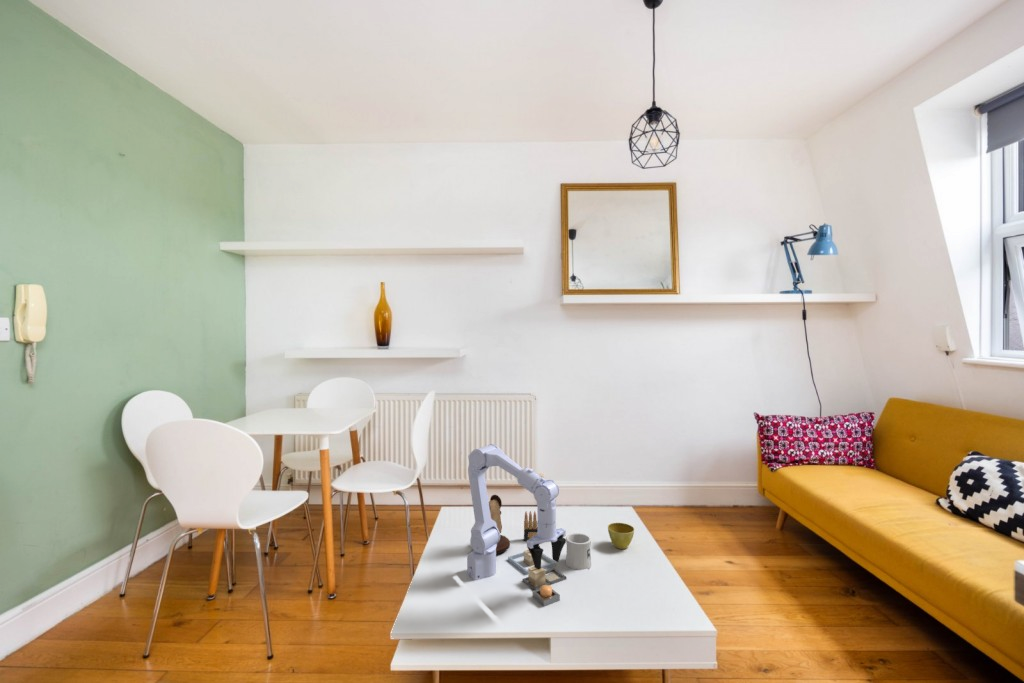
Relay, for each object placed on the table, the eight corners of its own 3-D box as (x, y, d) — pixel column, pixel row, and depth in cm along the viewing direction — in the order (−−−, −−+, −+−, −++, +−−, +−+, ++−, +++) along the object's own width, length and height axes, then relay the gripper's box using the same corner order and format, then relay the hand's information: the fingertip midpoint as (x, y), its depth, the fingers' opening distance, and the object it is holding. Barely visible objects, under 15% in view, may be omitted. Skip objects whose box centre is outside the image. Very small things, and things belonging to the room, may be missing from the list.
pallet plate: (535, 596, 145) (535, 590, 145) (519, 583, 153) (519, 577, 153) (569, 583, 153) (569, 578, 153) (553, 571, 160) (553, 566, 160)
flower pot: (632, 540, 184) (632, 522, 184) (636, 552, 174) (636, 533, 174) (606, 539, 185) (606, 522, 185) (609, 551, 175) (609, 532, 175)
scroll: (493, 562, 167) (493, 507, 167) (463, 550, 176) (463, 498, 176) (517, 547, 179) (517, 495, 179) (488, 537, 188) (488, 488, 187)
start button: (544, 601, 139) (544, 592, 139) (537, 595, 142) (537, 587, 142) (554, 597, 141) (554, 589, 141) (547, 591, 144) (547, 583, 144)
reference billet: (535, 587, 148) (535, 573, 148) (528, 581, 152) (528, 567, 152) (545, 583, 150) (545, 569, 150) (538, 578, 154) (538, 564, 154)
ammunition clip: (523, 542, 183) (523, 512, 183) (523, 540, 185) (523, 510, 185) (550, 542, 183) (550, 512, 183) (550, 540, 185) (550, 510, 185)
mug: (591, 573, 159) (591, 545, 159) (564, 571, 161) (564, 542, 160) (592, 557, 171) (592, 530, 171) (567, 554, 173) (567, 528, 173)
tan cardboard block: (530, 568, 162) (530, 555, 162) (523, 563, 165) (523, 550, 165) (539, 565, 164) (539, 552, 164) (533, 560, 167) (532, 548, 167)
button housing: (543, 610, 138) (543, 601, 138) (532, 600, 143) (532, 591, 143) (559, 604, 141) (559, 594, 141) (548, 594, 146) (548, 585, 146)
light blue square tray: (526, 578, 156) (526, 571, 156) (508, 562, 166) (508, 556, 166) (555, 568, 163) (555, 562, 163) (535, 554, 173) (535, 548, 173)
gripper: (537, 531, 137) (537, 577, 137) (572, 519, 145) (572, 562, 146) (522, 523, 142) (522, 567, 142) (557, 512, 151) (557, 553, 151)
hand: (546, 564), depth 144 cm, fingers open, 7 cm apart
